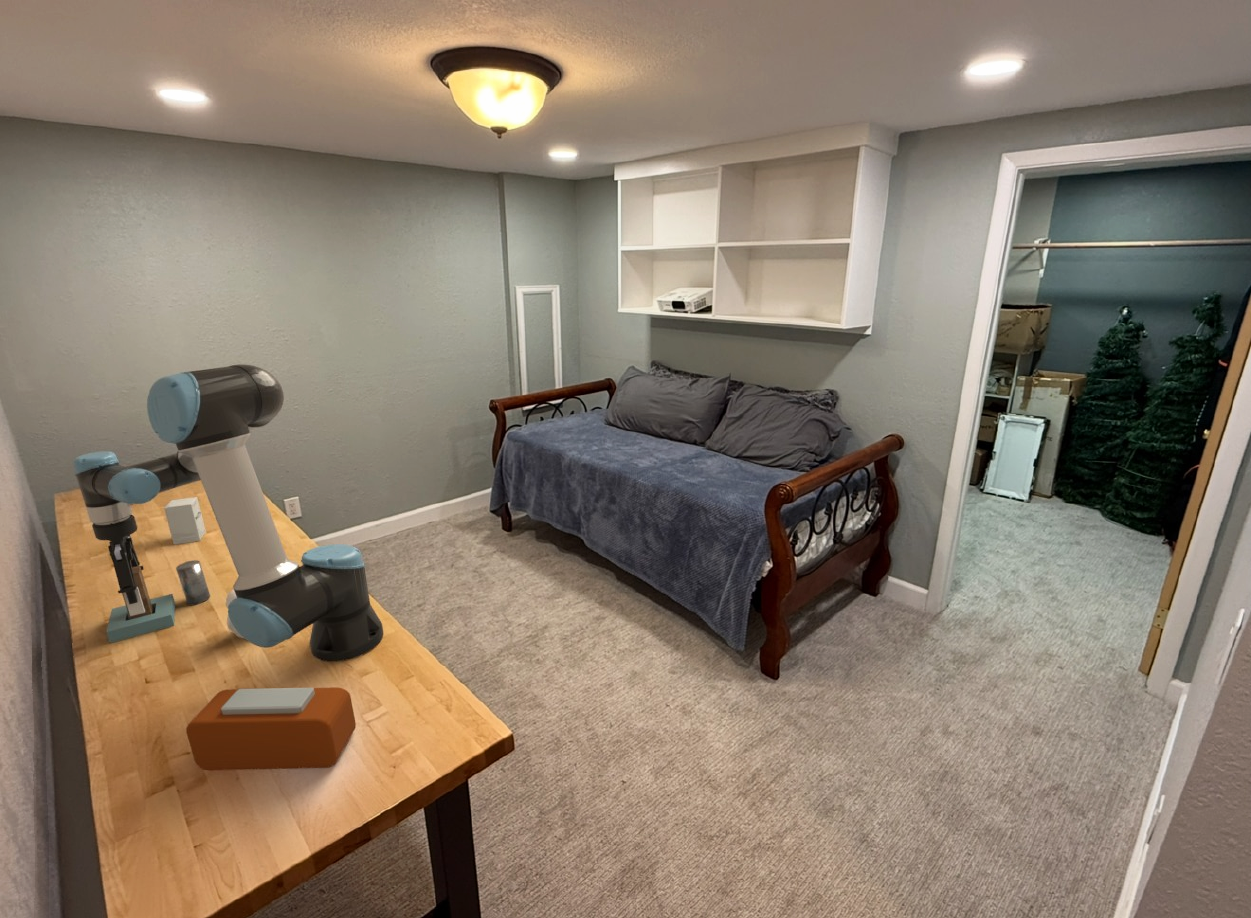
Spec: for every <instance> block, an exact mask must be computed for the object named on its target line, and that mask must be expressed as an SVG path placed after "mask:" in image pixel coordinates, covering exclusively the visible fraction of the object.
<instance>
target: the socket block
mask: <svg viewBox="0 0 1251 918" xmlns="http://www.w3.org/2000/svg"><path fill="white" fill-rule="evenodd" d="M173 594H174V593H170V594H166V595H161V596H158V597H154V598H150V601H151V604H152V608H153V611H154V614H150V615H146V616H142V617H139V618H135V619H131V620H130V617H129V614H128V611H127V608H126V605H122V606H119V607H114V608H111V612H110V615H109V619H108V623H107V627H106V632H105V633H106V636H107V639H108V642H109V644H112V643H116V642H119V641H123V640H127V639H131V638H134V637H138V636H142V635H145V634H149V633H152V632H156V631H160V630H163V629H167V628H170V627H174V626H175V620H176V619H175V617H176V614H175V613H176V601H175V597H174V595H173Z"/></svg>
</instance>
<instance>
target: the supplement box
mask: <svg viewBox="0 0 1251 918" xmlns="http://www.w3.org/2000/svg"><path fill="white" fill-rule="evenodd" d="M163 509H164V513H165V518H166V520H167V521H166V522H167V524H168V528H169V532H170V535H171V541H172V542H173V545H174V546H175V545H181V544H188V543H195V542H200V541H201V540H202V539H203V536H204V535H205V534H206V532H207V531H206V528H205V524H204V523H205V522H204V518H203V515H202V511H201V507H200V503H199V499H198V497H197V496H195V497H194V496H193V497H186V498H179V499H173V500H170V501H169V502H168V503H167V504H166V506H164V508H163Z"/></svg>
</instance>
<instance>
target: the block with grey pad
mask: <svg viewBox="0 0 1251 918" xmlns="http://www.w3.org/2000/svg"><path fill="white" fill-rule="evenodd" d="M354 712H355V711H354V707H353V703H352V697H351V694H350V692H349V691H348V690H347V689H345V688H343V687H337V686H336V687H283V688H279V687H277V688H275V687H274V688H273V687H272V688H240V689H239V688H237V689H233V688H232V689H222V690H220V691H219V692H218V693H216V694H215V695H214V696H213V698H212V699H211V700H210V701H208V703H207V704H206V705H205V706H204V707H203V708H202V709H201V710H200V711H199V712H198V713H197V714H196V715H195V717H193V719H192V720H191V721H189V723H188V724H187V726H186V728H185V729H186V730H185V731H186V732H185V733H186V736H187V740H188V743H189V747H190V749H191V752H192V756H193V759H194V762H195V764H196V766H198V767H199V768H201V769H202V770H206V771H236V770H237V771H238V770H244V771H245V770H283V769H285V770H286V769H289V770H290V769H292V770H293V769H327V768H331V767H333V766H335V764H336V763H337V761H338V759H339V758H340V756H341V755H342V753H343V750H344V749H345V748H346V746H347V744H348V742H349V741H350V739H351V737H352V735H353V733H354V732H355V730H356V727H357V724H356V717H355V713H354Z"/></svg>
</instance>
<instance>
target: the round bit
mask: <svg viewBox="0 0 1251 918" xmlns="http://www.w3.org/2000/svg"><path fill="white" fill-rule="evenodd" d="M175 570H176V574H177V575H178V579H179V582H180V584H181V587H182V591H183V594H184V597H185V600H186V603H187V604H188V605H190V606H191V605H198V604H201V603H204V602H206V601H209V599H210V598H211V594H210V591H209V587H208V585H207V580H206V577H205V575H204V572H203V568H202V565H201V562H200V560H198V559H197V560H189V561H184V562H183V563H180V564H179V565H177V566H176V567H175Z"/></svg>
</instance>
